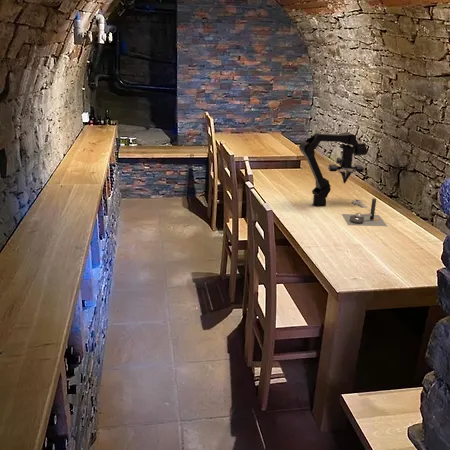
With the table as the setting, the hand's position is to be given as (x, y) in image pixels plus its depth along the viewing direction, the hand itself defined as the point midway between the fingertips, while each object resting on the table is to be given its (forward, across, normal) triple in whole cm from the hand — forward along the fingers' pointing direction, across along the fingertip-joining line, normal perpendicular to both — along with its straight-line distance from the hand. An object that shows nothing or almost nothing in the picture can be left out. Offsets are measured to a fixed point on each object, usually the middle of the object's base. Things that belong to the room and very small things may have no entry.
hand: (344, 183), depth 279 cm
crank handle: (+12, -4, +29) cm, 31 cm away
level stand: (+13, -6, +27) cm, 31 cm away
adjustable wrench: (+14, -11, +4) cm, 18 cm away
